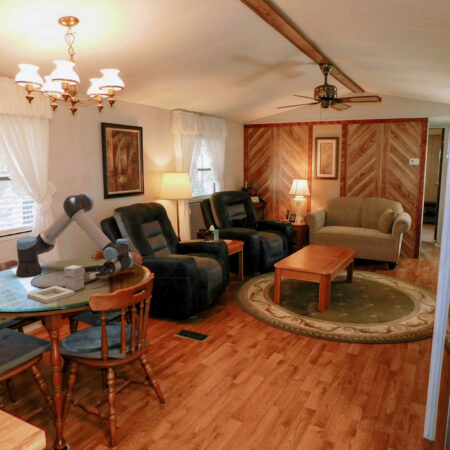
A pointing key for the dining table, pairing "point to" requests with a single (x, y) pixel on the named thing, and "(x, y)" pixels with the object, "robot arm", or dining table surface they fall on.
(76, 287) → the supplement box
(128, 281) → the dining table surface
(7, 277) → the dining table surface
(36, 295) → the hole board
